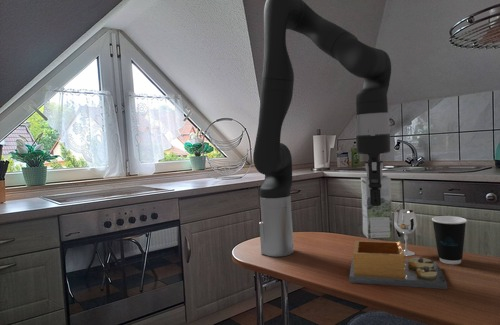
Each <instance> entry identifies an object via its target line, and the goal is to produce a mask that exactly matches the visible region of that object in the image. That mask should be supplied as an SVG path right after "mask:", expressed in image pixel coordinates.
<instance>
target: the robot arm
mask: <svg viewBox="0 0 500 325" xmlns="http://www.w3.org/2000/svg"><path fill="white" fill-rule="evenodd" d="M263 8H264V9H263V38H264V39H263V63H262V65H263V66H262V75H261V84H260V86H261V87H260V102H259V112H258V114H259V115H258V125H257V132H256V136H255V142H254V148H253V155H252V156H253V158H252V159H253V160H252V161H253V165H254V168H255V169H256V170H257V172H258V173H260V174H262V175H264V180H263V183H262V184H261V186H260V187H259V202H260V203H259V204H260V219H261V221H260V222H259V236H260V239H259V240H260V254H261V255H266V256H268V257H286V256H290V255H291V254H293V253H294V250H295V249H294V247H295V246H294V232H293V219H292V218H293V217H292V216H293V215H292V201H291V200H292V198H291V196H292V195H291V189H292V186H293V159H292V153H291V150H290V148H289V146H287V145H285V143H282V142H281V134H282V133H281V132H282V127H283V124H284V120H285V118H286V116H287V113H288V111H289V109H290V106H291V104H292V100H293V92H294V85H295V84H294V83H295V75H294V74H295V73H294V68H293V64H292V61H291V59H290V55H289V52H288V49H287V41H286V37H287V36H286V34H287V30H289V31H294V32H295V33H296V32H297V33H299V34H302V35H304V36H305V37H307V38H308V39H310V40H311V42H312V43H314V45H315V46H316V47H317V48H318V49H320V50H321V51H322V52H324V53H325V54H327V55H328V56H330V57H331V58H333V59H334V60H336V61H338V63H339V64H340V65H341V66H342V67H343V68H344V69H345V70H347V71H348V72H349V73H351V74H352V75H354V76H355V77H358V78H361V79H363V85H362V89H360V90H359V91H358V92H357V93H356V96H355V108H356V109H355V110H356V120H355V131H356V132H355V134H356V136H355V137H356V152H357V154H359V155H367V156H368V160H366V161H365V170H366V177H367V179H368V180H369V188H370V199H371V205H372V206H380V205H381V195H380V190H381V180H382V178H383V176H384V175H383V169H384V161H383V160H380V154H387V153H390V152H391V130H390V120H389V113H388V112H389V110H388V107H389V106H388V92H389V91H388V90H389V86H390V82H391V76H392V75H391V74H392V62H391V58H390V56H389V53H387V52H386V51H385V50H382V49H380V48H377V47H372V46H370V45H367V44H366V43H364V42H362V41H360V40H359V39H358V37H357V36H355V34H353V33H351V32H350V31H348V30H346V29H344V28H343V27H341V26H339V25H338V24H335V23H334V22H332V21H330V20H328V19H326V18H324V17H322V15H319V13H317V12H315V11H314V10H313V9H312V8H311V7H310V6H309V5H308V4H307V3H306V2H305V1H304V0H266V1H265V4H264V7H263ZM372 180H378V183H371V181H372ZM378 189H379V190H378Z"/></svg>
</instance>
